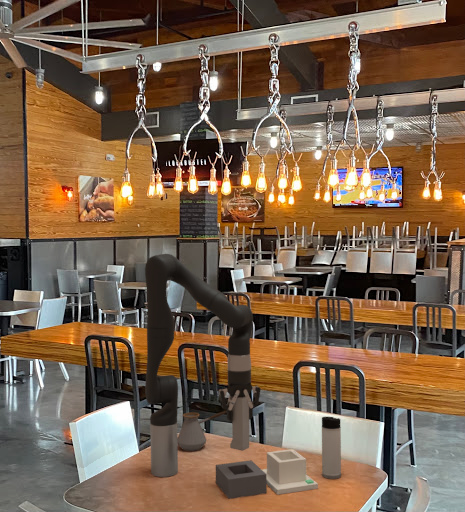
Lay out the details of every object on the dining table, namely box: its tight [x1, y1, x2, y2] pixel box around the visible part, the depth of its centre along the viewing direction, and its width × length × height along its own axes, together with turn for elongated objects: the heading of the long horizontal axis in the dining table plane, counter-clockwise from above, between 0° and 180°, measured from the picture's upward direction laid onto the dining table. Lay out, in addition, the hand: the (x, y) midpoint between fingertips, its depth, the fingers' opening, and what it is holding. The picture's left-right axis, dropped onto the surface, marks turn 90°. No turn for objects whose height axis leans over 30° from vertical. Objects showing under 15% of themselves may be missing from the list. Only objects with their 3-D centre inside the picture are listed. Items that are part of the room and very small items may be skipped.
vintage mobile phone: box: [229, 395, 250, 452], centre depth 197 cm, size 4×5×25 cm
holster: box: [215, 459, 268, 500], centre depth 198 cm, size 14×12×6 cm
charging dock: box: [261, 448, 319, 496], centre depth 203 cm, size 18×14×8 cm
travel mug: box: [321, 416, 342, 480], centre depth 207 cm, size 6×7×20 cm
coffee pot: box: [177, 410, 227, 452], centre depth 237 cm, size 21×12×15 cm, turn 83°
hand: (239, 420), depth 197 cm, fingers closed on vintage mobile phone, 5 cm apart
